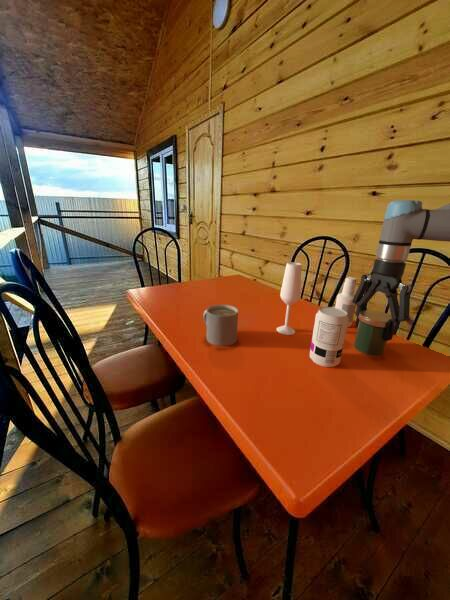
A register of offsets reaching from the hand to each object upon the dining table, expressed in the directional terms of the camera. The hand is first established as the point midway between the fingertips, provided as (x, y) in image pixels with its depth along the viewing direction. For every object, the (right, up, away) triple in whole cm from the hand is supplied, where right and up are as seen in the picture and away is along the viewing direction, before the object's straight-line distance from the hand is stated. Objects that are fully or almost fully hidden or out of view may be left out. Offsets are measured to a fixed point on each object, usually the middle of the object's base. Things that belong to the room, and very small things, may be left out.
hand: (372, 332), depth 78 cm
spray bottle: (-1, +1, +19) cm, 19 cm away
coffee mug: (-47, -2, +6) cm, 48 cm away
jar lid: (0, +5, -2) cm, 5 cm away
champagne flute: (-24, -1, +12) cm, 27 cm away
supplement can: (-17, -7, -5) cm, 19 cm away
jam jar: (0, -5, +2) cm, 5 cm away
